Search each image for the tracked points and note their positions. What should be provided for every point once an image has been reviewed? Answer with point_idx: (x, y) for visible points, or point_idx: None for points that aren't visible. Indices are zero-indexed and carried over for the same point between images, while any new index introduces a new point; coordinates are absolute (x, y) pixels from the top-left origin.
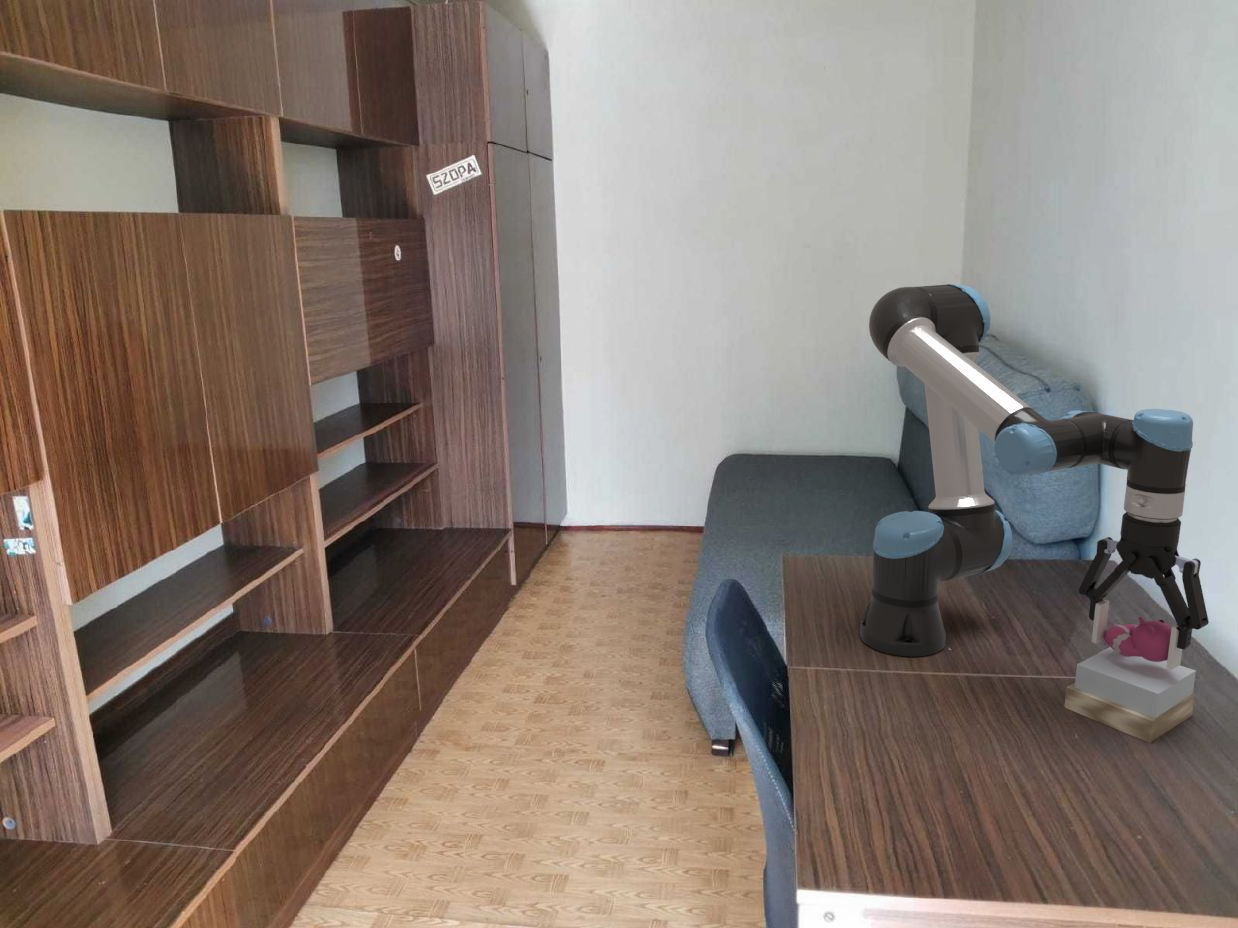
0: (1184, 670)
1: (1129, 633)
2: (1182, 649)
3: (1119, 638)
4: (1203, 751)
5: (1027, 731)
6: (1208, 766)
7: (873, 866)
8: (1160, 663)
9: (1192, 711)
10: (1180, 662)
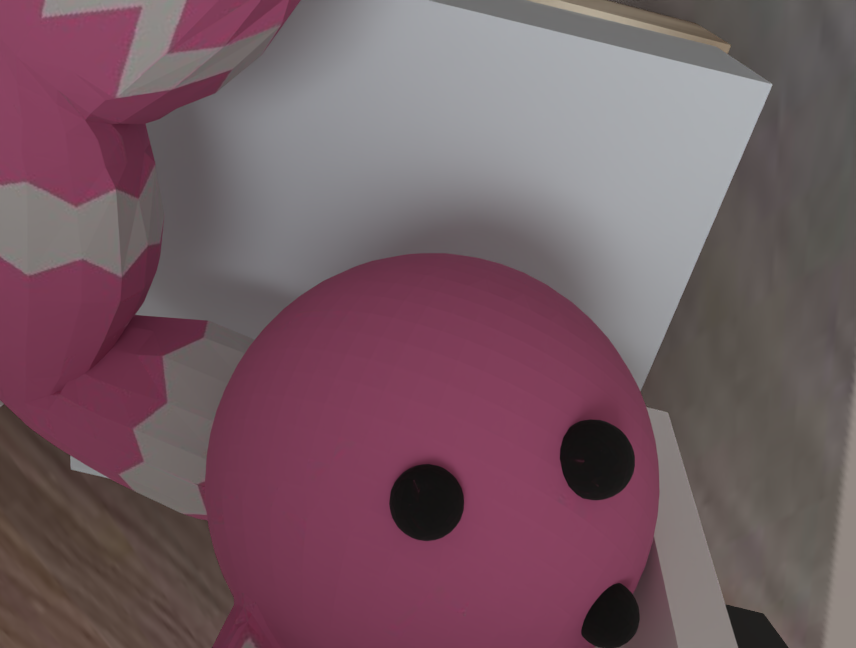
0: (679, 143)
1: (133, 178)
2: (698, 518)
3: (153, 496)
4: (752, 380)
5: (165, 568)
6: (769, 480)
7: None
8: (487, 120)
9: (702, 27)
10: (670, 429)
